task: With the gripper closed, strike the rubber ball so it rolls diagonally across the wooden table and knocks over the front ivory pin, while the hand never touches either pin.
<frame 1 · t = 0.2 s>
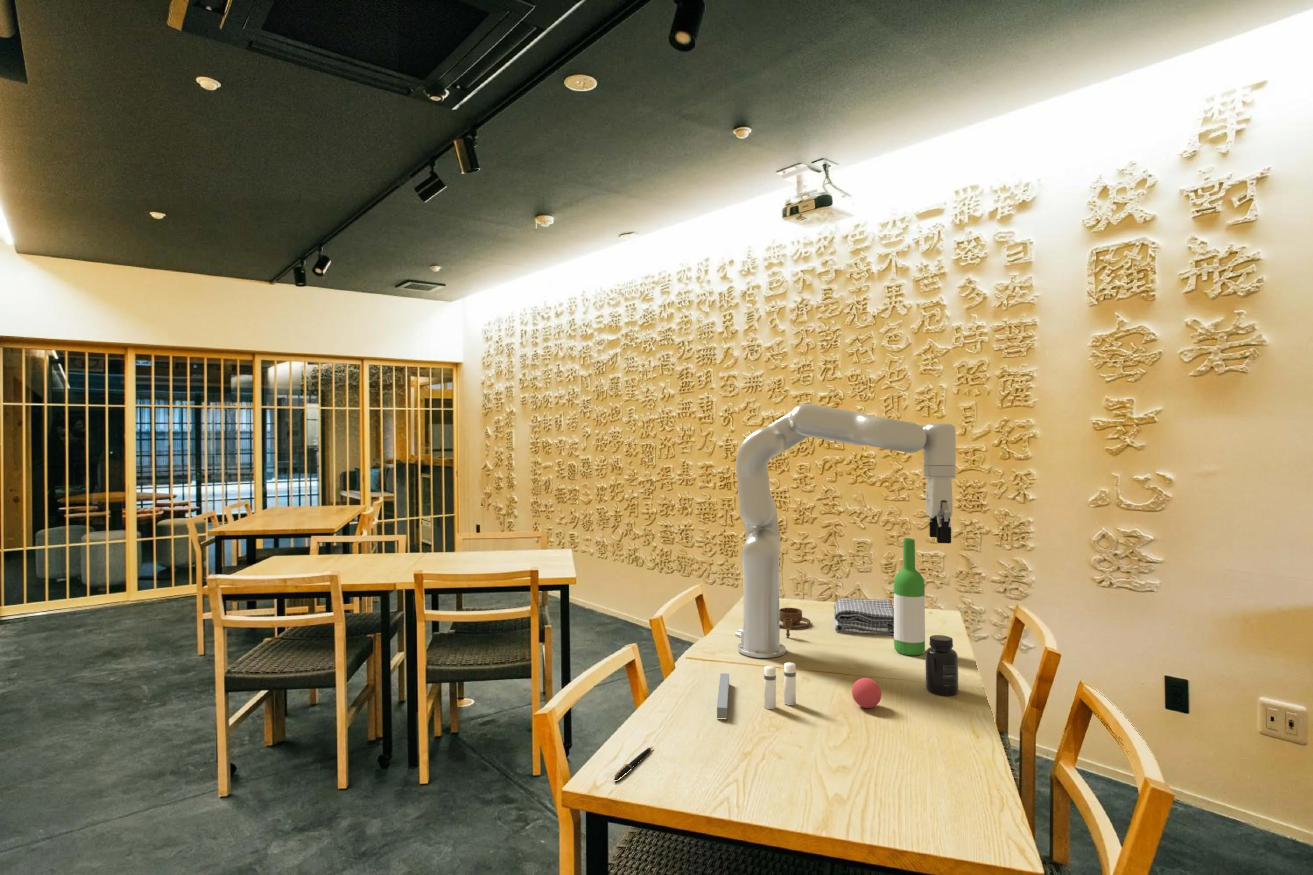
hand: (940, 539, 173), 31 cm above the table, tool pointing down, fingers open, 9 cm apart
gray square bar: (723, 700, 149), on the table
wine bottle: (909, 652, 182), on the table
rear pin: (770, 707, 146), on the table
ball: (866, 692, 146), on the table
place setting: (784, 629, 206), on the table
supplement bottle: (941, 691, 154), on the table
fountain pen: (634, 767, 121), on the table
front pin: (790, 703, 148), on the table
towel: (865, 629, 205), on the table
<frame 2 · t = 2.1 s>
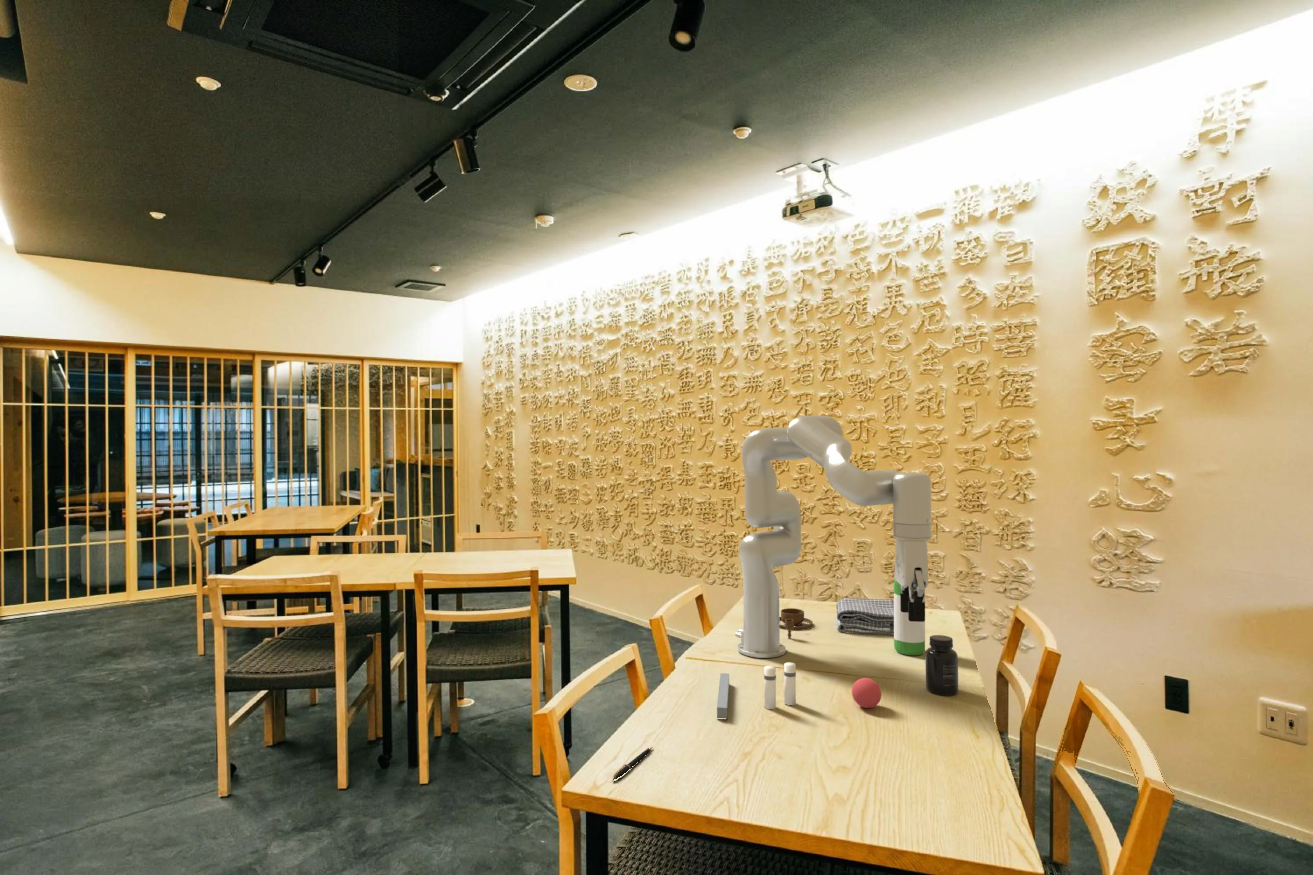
hand: (912, 615, 144), 20 cm above the table, tool pointing down, fingers open, 6 cm apart
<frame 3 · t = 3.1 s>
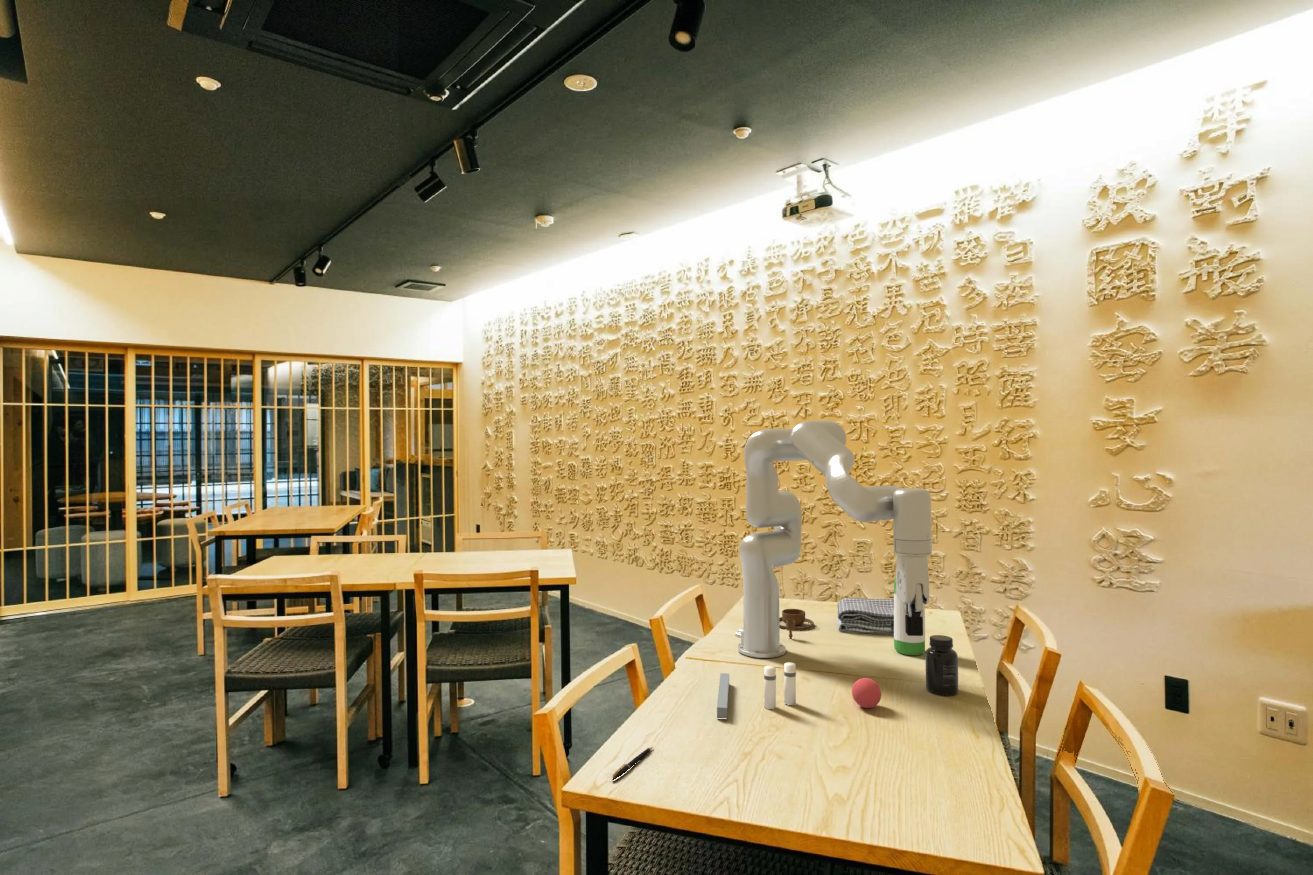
hand: (914, 634, 144), 16 cm above the table, tool pointing down, fingers closed
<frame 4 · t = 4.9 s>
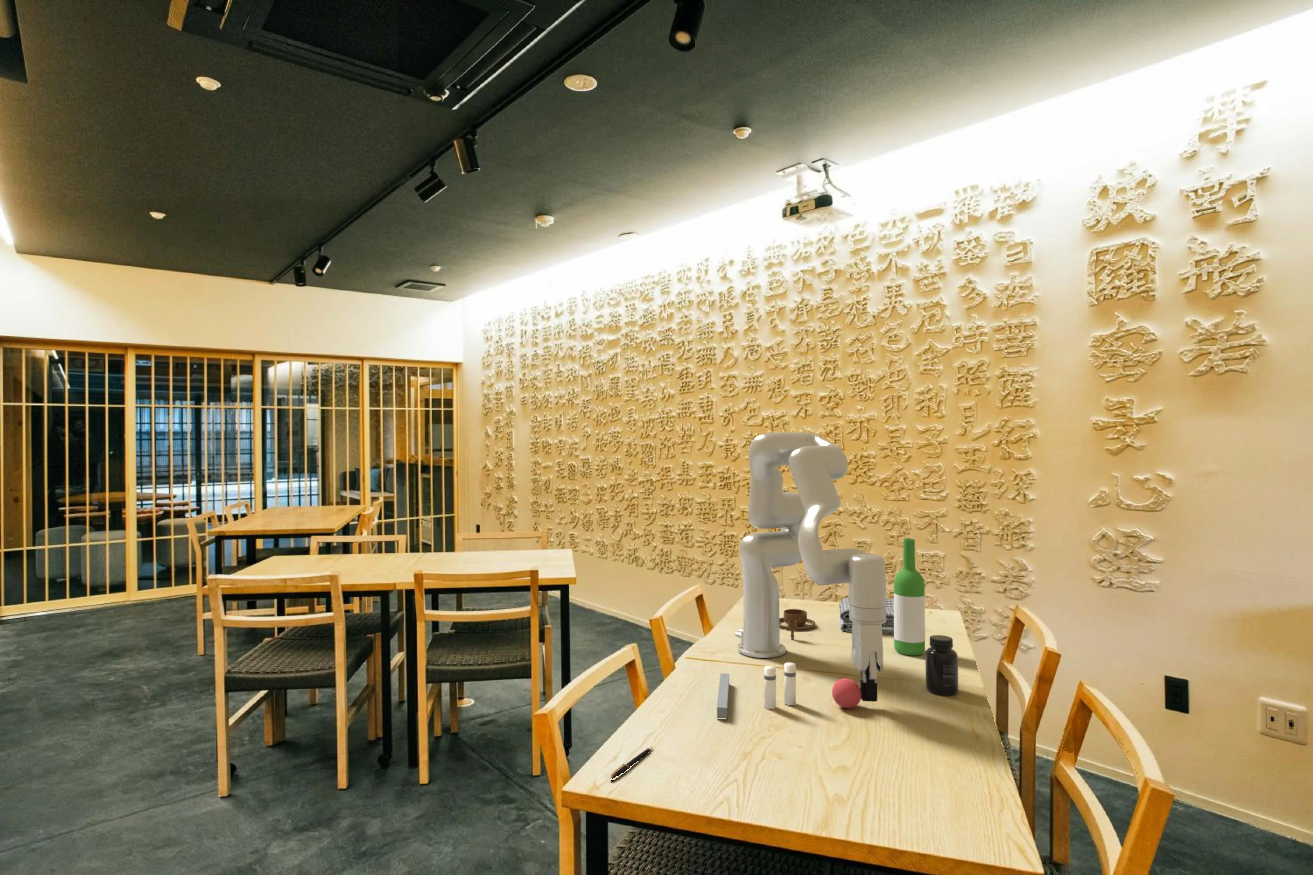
hand: (868, 699, 145), 2 cm above the table, tool pointing down, fingers closed
ball: (846, 693, 146), on the table
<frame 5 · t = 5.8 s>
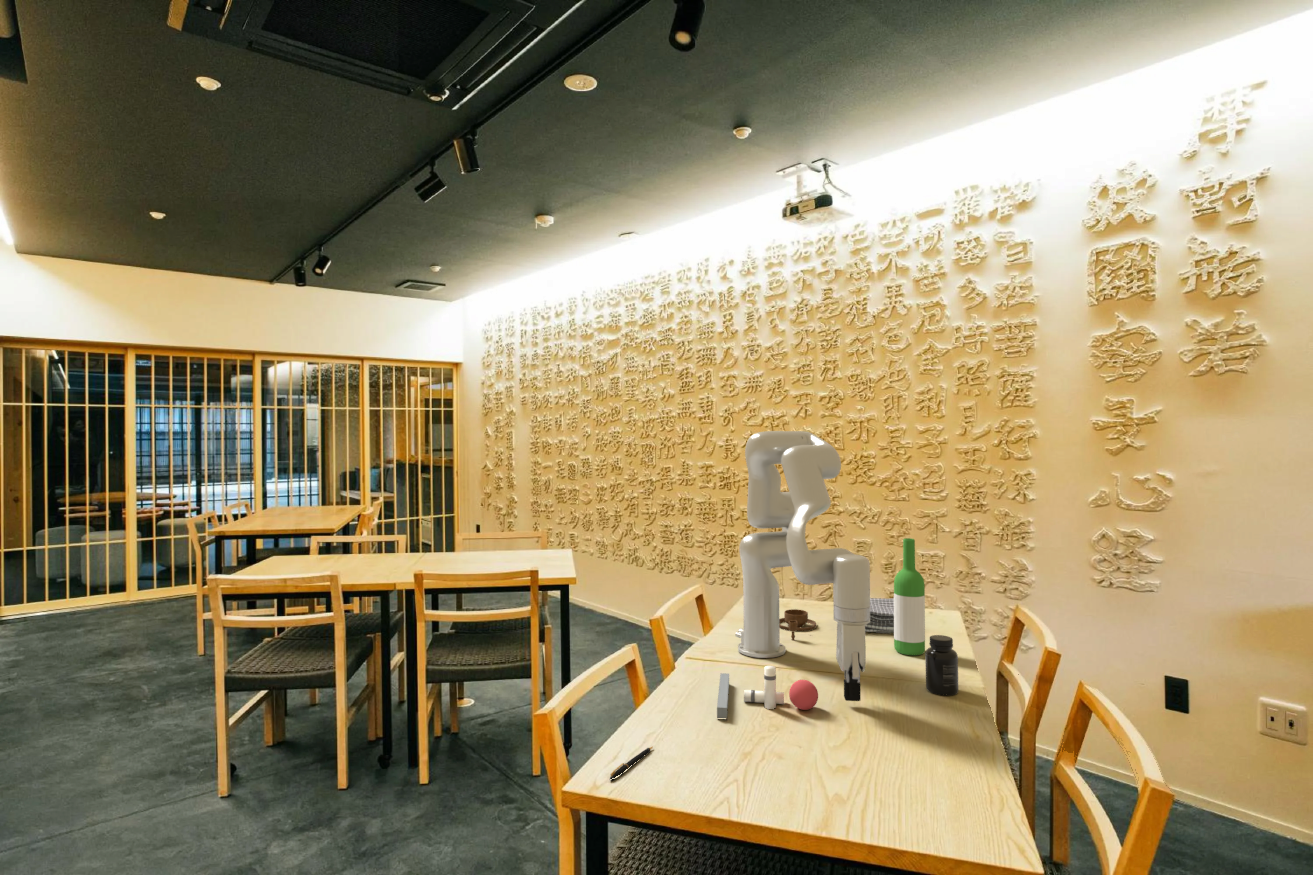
hand: (852, 699, 146), 2 cm above the table, tool pointing down, fingers closed
ball: (803, 694, 145), on the table
front pin: (783, 698, 148), point 1 cm above the table, tilted 90°
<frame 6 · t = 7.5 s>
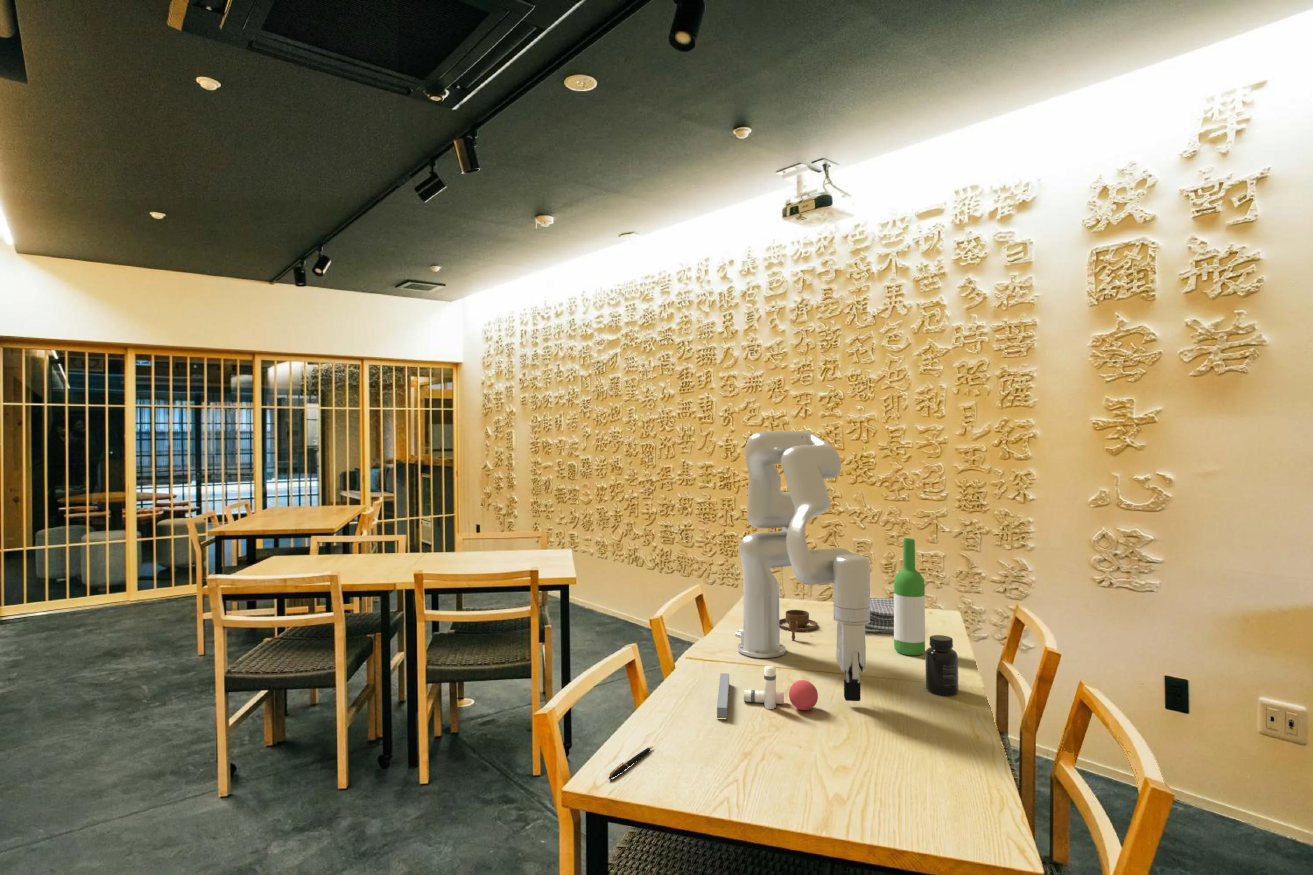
hand: (852, 699, 146), 2 cm above the table, tool pointing down, fingers closed
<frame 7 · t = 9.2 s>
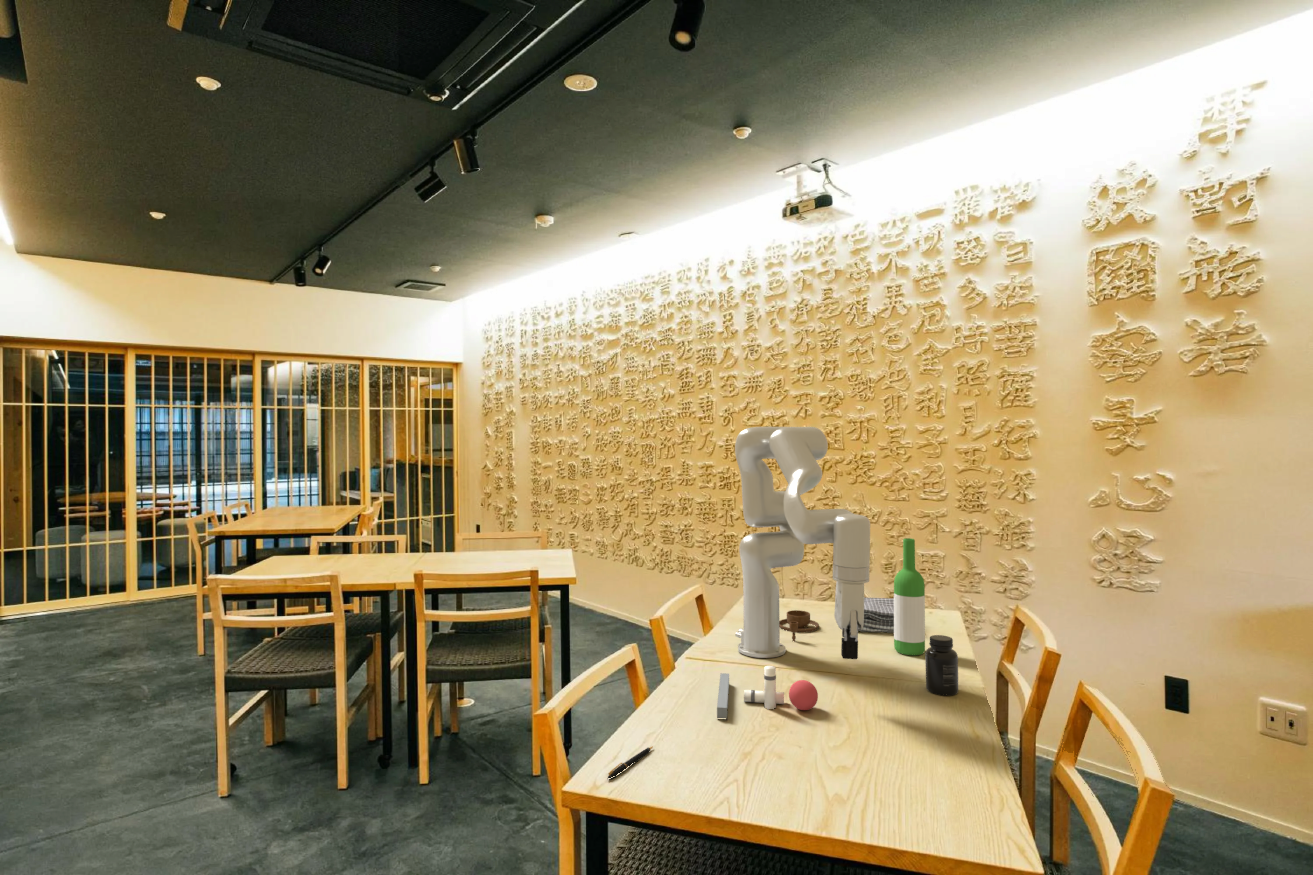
hand: (849, 657, 147), 10 cm above the table, tool pointing down, fingers closed
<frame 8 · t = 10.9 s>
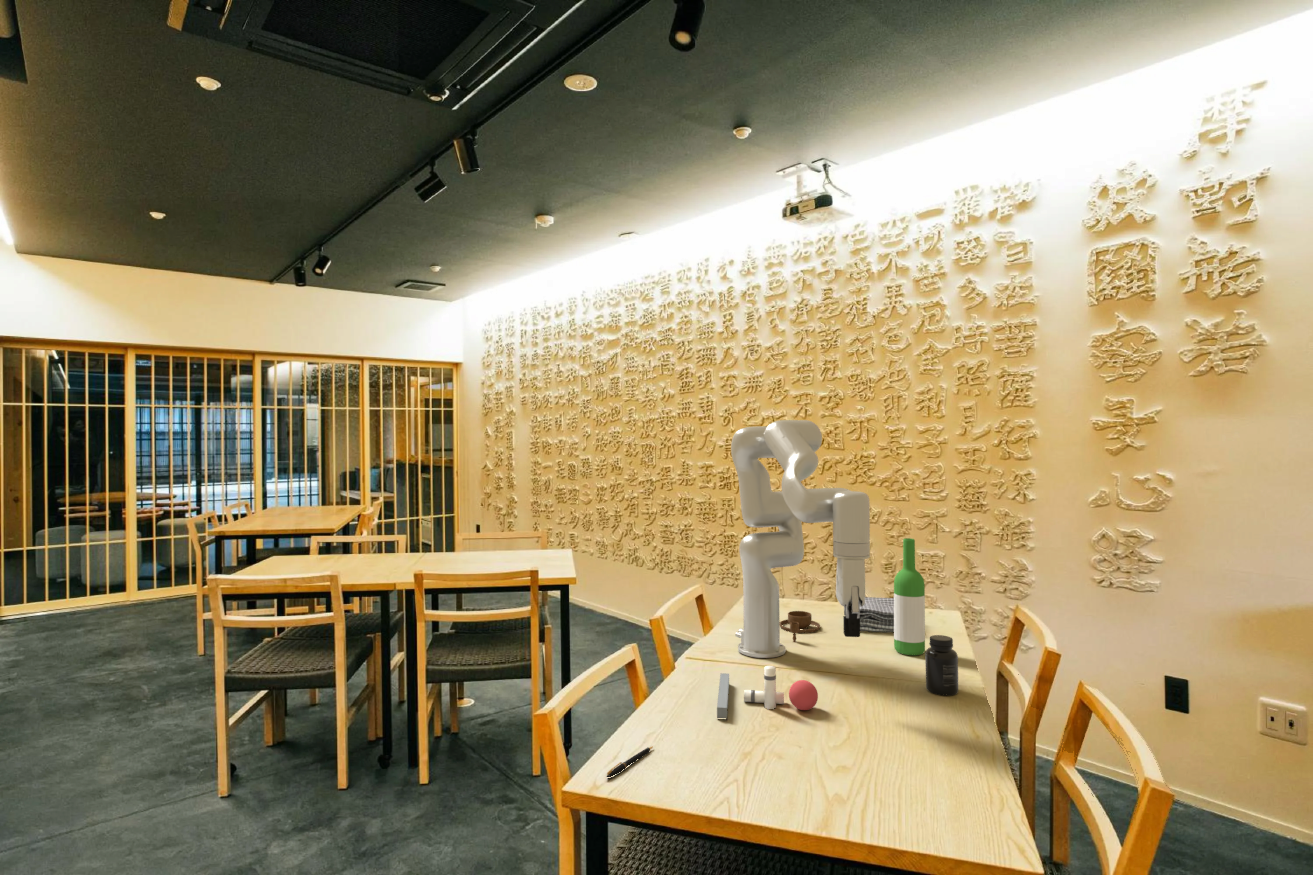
hand: (851, 635, 146), 15 cm above the table, tool pointing down, fingers closed
at the end: front pin tilted 90°; front pin never touched the robot; ball moved 13.6 cm from its start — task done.
